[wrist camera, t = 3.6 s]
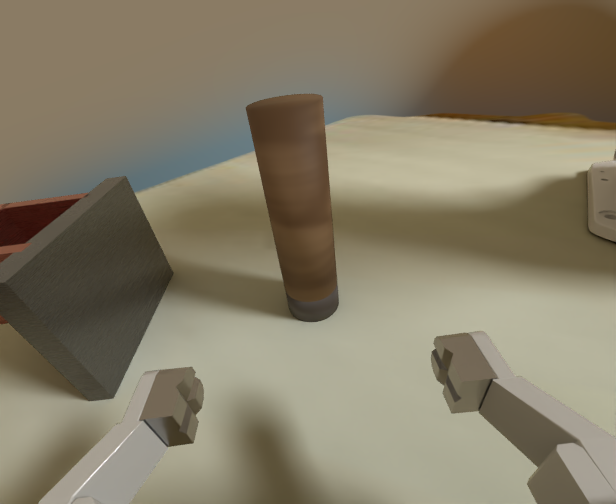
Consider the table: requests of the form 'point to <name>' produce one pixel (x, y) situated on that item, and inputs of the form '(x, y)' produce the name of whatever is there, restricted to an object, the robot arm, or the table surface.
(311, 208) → the brown cylinder
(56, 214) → the drawer
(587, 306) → the table surface
